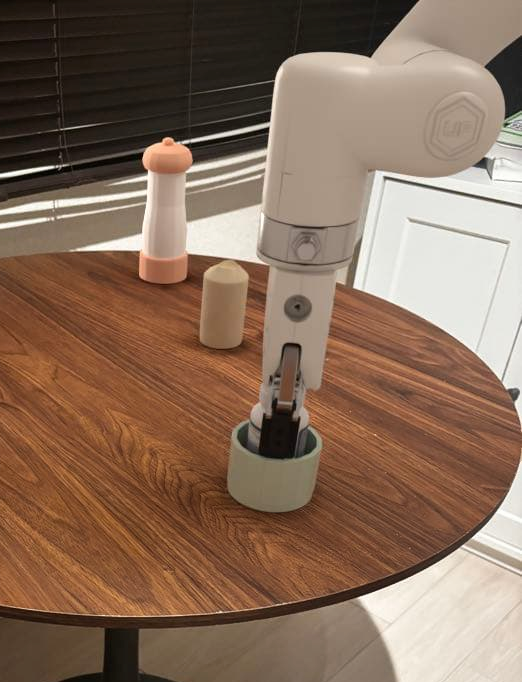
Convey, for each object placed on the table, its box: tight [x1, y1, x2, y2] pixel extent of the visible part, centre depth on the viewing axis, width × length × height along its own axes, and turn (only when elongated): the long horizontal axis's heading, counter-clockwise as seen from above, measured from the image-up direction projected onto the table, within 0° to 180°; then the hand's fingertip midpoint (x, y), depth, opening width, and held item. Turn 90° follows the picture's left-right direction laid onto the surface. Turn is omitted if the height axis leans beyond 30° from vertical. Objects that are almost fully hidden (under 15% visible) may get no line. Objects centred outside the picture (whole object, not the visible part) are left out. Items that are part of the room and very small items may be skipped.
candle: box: [199, 259, 250, 350], centre depth 102 cm, size 6×6×10 cm
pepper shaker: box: [138, 136, 194, 285], centre depth 118 cm, size 7×7×19 cm
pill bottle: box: [247, 378, 310, 460], centre depth 74 cm, size 5×5×9 cm
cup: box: [226, 418, 323, 513], centre depth 76 cm, size 8×8×6 cm
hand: (277, 436), depth 74 cm, fingers closed on pill bottle, 5 cm apart
